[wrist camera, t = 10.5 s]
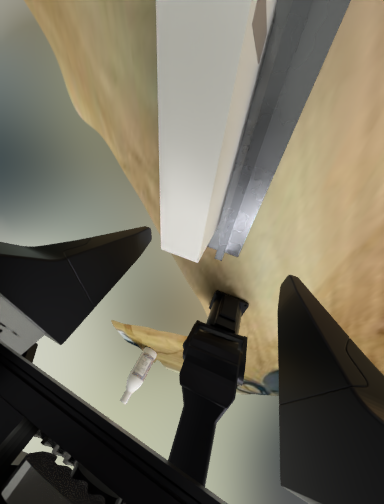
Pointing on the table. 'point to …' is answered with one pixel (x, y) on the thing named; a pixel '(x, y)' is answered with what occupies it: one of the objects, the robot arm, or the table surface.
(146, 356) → the bath foam
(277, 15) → the track
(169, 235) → the door panel
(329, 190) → the table surface
